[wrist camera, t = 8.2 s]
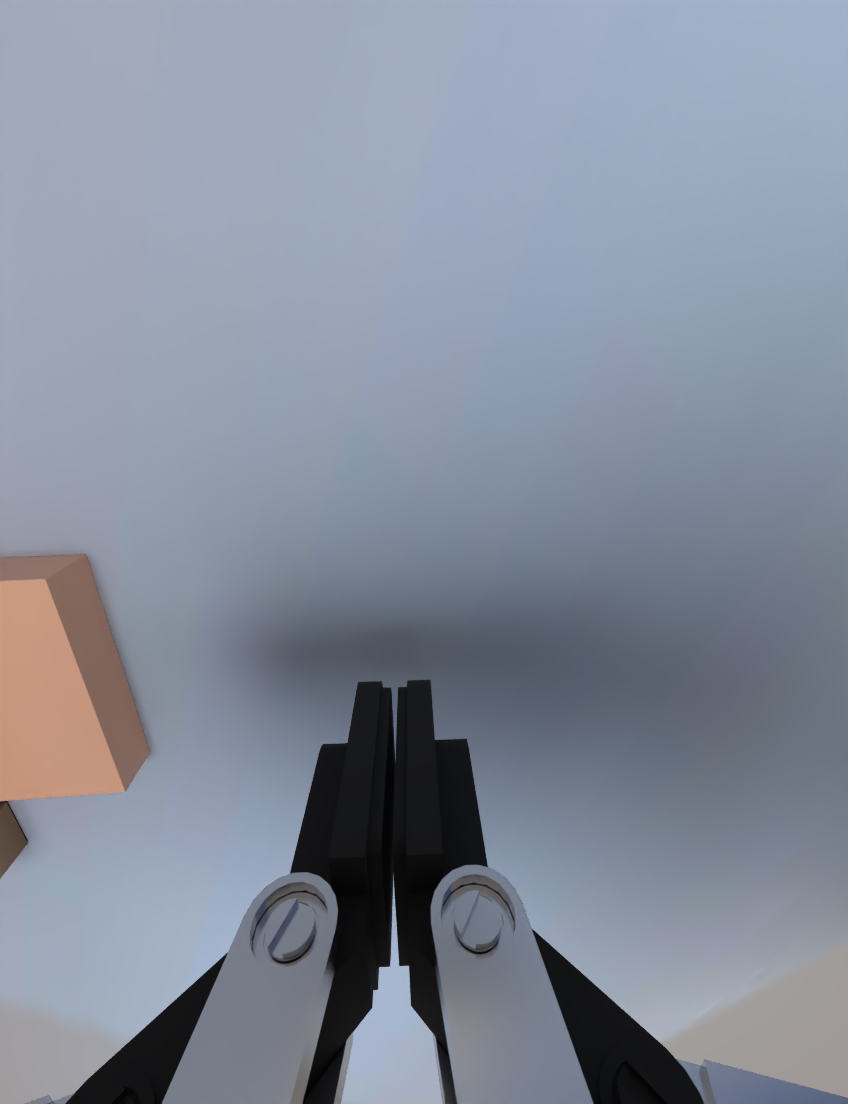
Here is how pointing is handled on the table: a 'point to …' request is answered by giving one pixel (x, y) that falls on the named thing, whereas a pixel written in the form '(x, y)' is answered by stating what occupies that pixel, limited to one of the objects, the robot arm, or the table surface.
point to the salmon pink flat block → (61, 685)
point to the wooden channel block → (9, 838)
